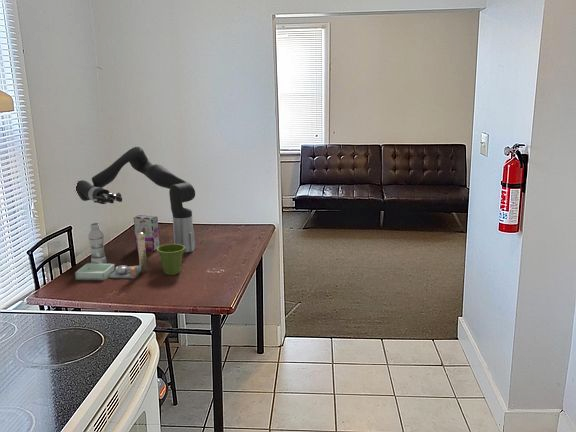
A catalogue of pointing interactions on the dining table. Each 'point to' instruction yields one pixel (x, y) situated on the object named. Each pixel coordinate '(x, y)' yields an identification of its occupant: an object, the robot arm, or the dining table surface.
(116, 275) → the base
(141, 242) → the beige silver l-shaped piece
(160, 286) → the dining table surface
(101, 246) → the plastic bottle
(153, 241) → the candy bar box
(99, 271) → the tray
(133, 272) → the stop block
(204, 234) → the dining table surface
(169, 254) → the plant pot
